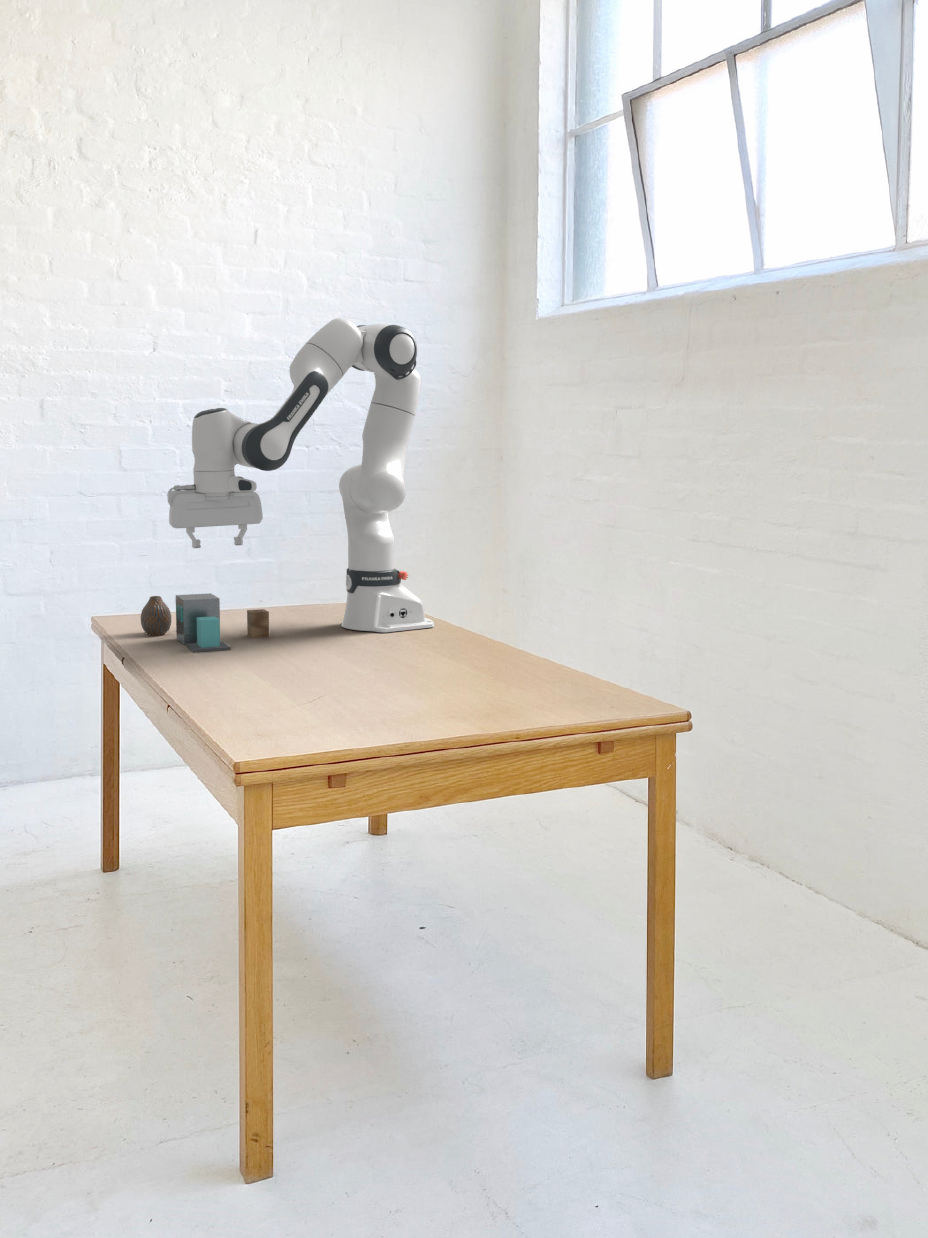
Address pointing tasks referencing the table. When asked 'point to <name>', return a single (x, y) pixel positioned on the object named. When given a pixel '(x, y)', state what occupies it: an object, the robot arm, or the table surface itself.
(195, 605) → the block
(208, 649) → the pad
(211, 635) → the teal block
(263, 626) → the walnut block
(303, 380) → the robot arm
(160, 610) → the vase
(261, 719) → the table surface
